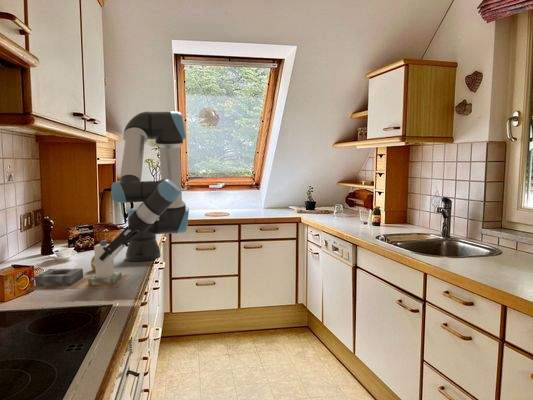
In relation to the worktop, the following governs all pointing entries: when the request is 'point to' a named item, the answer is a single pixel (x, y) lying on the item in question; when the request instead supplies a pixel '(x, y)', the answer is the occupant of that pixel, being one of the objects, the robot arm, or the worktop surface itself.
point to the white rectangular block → (108, 265)
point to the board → (84, 284)
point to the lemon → (92, 264)
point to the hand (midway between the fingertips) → (102, 261)
